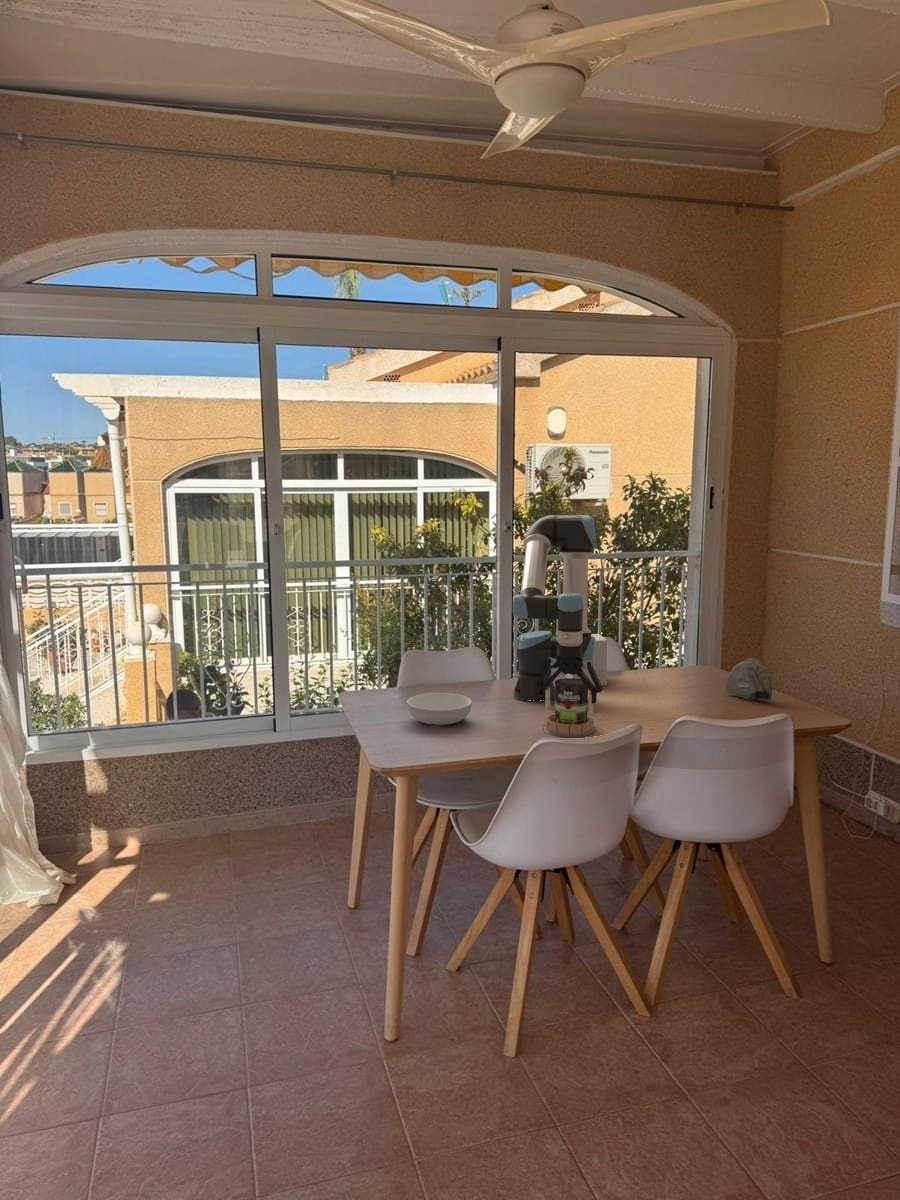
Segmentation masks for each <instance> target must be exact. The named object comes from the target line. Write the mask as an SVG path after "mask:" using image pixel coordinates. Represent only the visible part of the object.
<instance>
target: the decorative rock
mask: <svg viewBox="0 0 900 1200" xmlns="http://www.w3.org/2000/svg"><path fill="white" fill-rule="evenodd" d="M772 685H773V681H772V678H771V675H770V674H769V672H768V670H767V668H766V667H765V666H764V665H763V663H762V662H761V661H760V660H758V659H756V658H755V657H748V658H747V659H746V660H742V661H740V662H739V663H737V664H735V665H734V666H733V668H732V669H731V671H730V672H729V673H728V674H727V679H726V681H725V687H724V688H725V692H726V693H728V694H731V695H734V696H736V697H740V698H742V699H744V700H745V699H746V700H747V701H755V700H759V699H760V700H763V701H764V700H765V701H767V700H771V699H772V694H773V693H772V692H773V686H772Z"/></svg>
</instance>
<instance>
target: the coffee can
mask: <svg viewBox="0 0 900 1200" xmlns="http://www.w3.org/2000/svg"><path fill="white" fill-rule="evenodd" d="M554 686H555V699H554V713H555V722H556V723H560V724H582V723H585V722H587V715H589V689H588V687H587V685H585V684H584V682H583V681H582V680H581V679H575V678H566V677H565V678H559V679H556V680H554Z"/></svg>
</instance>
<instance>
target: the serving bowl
mask: <svg viewBox="0 0 900 1200" xmlns="http://www.w3.org/2000/svg"><path fill="white" fill-rule="evenodd" d="M472 704H473V700H472V699H471V698H470V697H468V696H465V695H463V694H458V693H450V692H430V693H420V694H417V695H414V696H411V697H409V698H408V699H407V700H406V705H407V710H408V712H409V714H410V716H411V717H412V718H414V719H415V720H416V721H418V722H420V723H424V724H427V725H431V724H434V725H433V726H446V725H445V724H447V725H452V724H455V723H458V722H461V721H463V720H464V719H465V718H466V717H467V716H468V715H469V714H470V712H471V709H472Z"/></svg>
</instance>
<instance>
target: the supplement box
mask: <svg viewBox="0 0 900 1200" xmlns="http://www.w3.org/2000/svg"><path fill="white" fill-rule="evenodd" d="M592 636H593V637H595V644H594V652H593V658H592V662H593V668H594V670H595V672H596V674H597V677H598V679H599V681H600V683H601V685H602V686H606V685H608V684H607V681H608V680H607V679H608V678H607V677H608V676H607V672H608V671H607V670H608V666H607V665H608V639H606V638H605V637H603V636H602V635H601V634H600V633H591V637H592ZM582 670H583V671H584V674H585V675H586V676H587V677H588V679H589V680H590V681H591V682H592V684H593V685H594V682H593V680H592V678H591V676H590V674H589V672H588V669H582ZM565 678H575V679H580V677H578V676H577V674H574V675H571V674H565ZM594 686H595V685H594Z"/></svg>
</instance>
